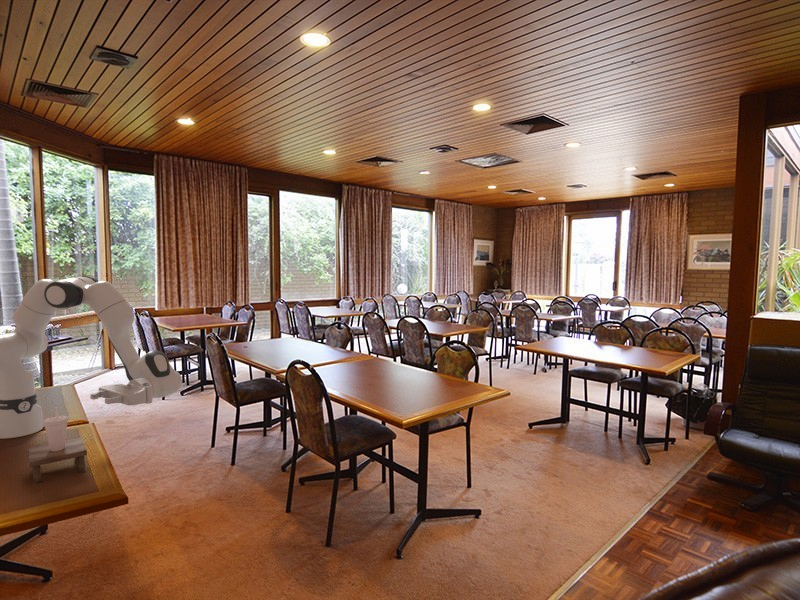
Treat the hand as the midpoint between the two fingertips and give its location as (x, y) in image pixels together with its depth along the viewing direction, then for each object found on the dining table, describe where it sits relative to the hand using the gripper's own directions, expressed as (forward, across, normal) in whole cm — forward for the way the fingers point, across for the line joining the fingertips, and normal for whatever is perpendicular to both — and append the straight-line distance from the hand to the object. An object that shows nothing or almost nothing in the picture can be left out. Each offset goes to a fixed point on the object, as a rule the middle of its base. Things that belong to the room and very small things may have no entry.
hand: (98, 399), depth 161 cm
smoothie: (+14, +4, +12) cm, 19 cm away
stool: (+14, +4, +19) cm, 24 cm away
